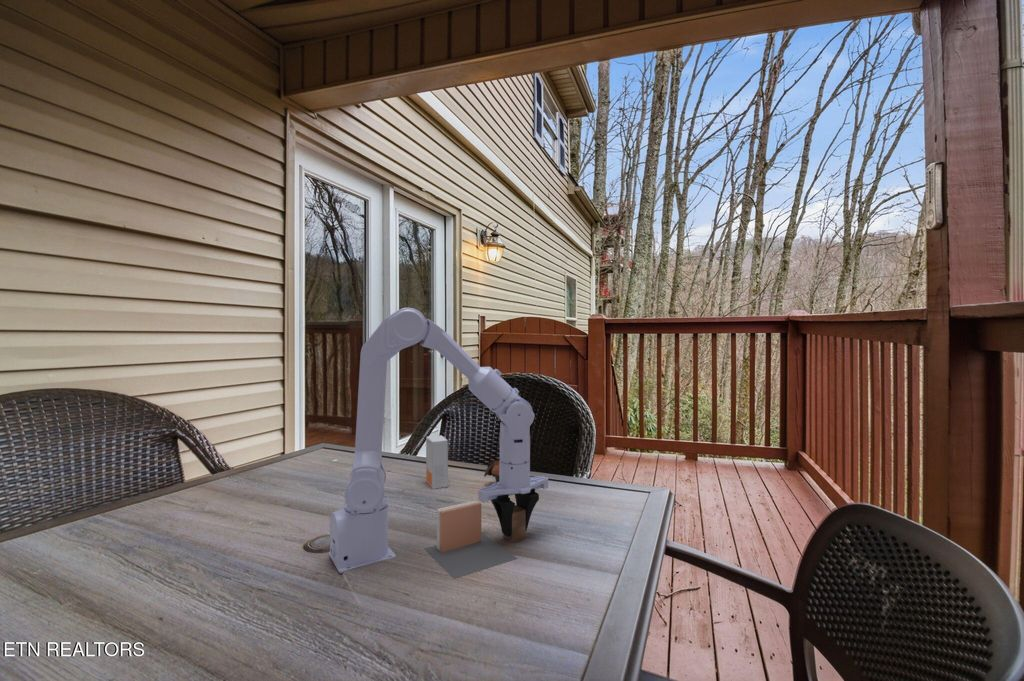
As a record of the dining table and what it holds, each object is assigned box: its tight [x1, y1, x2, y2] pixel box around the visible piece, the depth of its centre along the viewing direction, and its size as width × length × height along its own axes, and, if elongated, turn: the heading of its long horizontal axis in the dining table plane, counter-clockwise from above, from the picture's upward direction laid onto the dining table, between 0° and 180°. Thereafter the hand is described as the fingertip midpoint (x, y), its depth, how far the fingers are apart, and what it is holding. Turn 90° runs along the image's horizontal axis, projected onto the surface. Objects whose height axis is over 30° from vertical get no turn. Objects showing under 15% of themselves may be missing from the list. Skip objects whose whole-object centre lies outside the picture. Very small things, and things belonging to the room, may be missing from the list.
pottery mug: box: [483, 460, 499, 483], centre depth 117 cm, size 12×10×8 cm
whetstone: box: [436, 499, 482, 552], centre depth 85 cm, size 8×2×7 cm, turn 123°
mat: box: [424, 532, 518, 580], centre depth 82 cm, size 12×12×1 cm
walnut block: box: [502, 504, 527, 544], centre depth 88 cm, size 3×3×6 cm
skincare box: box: [425, 434, 449, 490], centre depth 120 cm, size 6×4×12 cm
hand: (514, 532), depth 88 cm, fingers closed on walnut block, 3 cm apart
